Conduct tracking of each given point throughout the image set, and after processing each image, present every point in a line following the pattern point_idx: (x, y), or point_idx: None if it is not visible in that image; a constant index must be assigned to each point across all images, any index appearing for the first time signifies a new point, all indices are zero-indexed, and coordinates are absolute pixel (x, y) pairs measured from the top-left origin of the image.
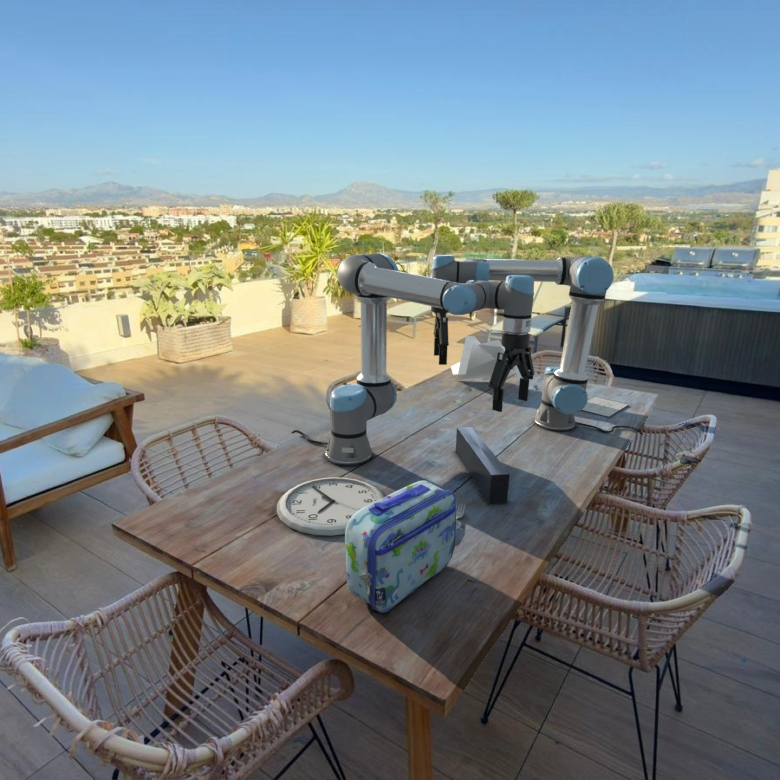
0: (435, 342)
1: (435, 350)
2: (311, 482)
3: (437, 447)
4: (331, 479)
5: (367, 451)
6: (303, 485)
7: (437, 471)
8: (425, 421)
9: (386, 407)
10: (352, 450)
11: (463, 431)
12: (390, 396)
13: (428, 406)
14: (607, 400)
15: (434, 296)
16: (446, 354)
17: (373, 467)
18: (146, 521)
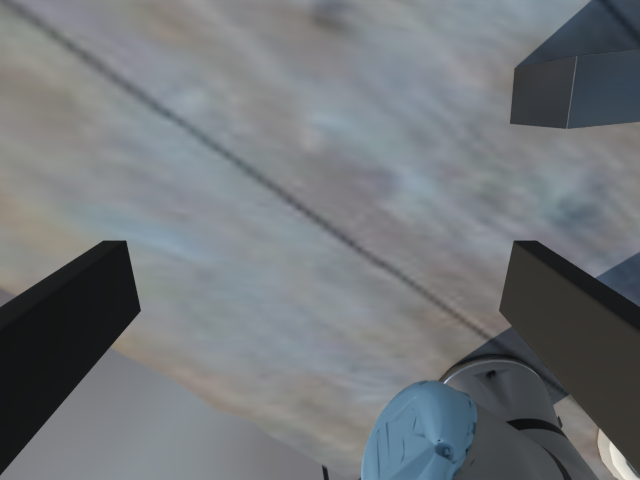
0: (32, 416)
1: (106, 332)
2: (625, 462)
3: (464, 178)
4: None
5: (534, 380)
6: (633, 472)
7: (628, 200)
8: (231, 191)
9: (492, 413)
10: (559, 421)
11: (620, 108)
12: (495, 435)
13: (59, 161)
14: None
15: None
16: (619, 304)
17: None
18: None
